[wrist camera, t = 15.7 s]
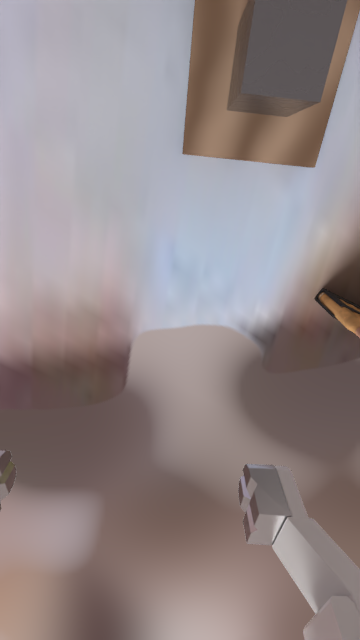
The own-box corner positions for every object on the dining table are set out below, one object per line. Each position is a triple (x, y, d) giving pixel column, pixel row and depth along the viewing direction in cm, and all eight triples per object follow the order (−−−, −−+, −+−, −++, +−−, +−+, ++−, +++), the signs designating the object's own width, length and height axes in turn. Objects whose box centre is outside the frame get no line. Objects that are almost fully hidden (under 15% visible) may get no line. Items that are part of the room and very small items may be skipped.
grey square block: (226, 110, 27) (240, 93, 21) (238, 25, 24) (259, -27, 18) (287, 117, 27) (320, 102, 21) (305, 33, 24) (351, -16, 18)
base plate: (182, 153, 30) (182, 153, 29) (198, -40, 23) (199, -52, 22) (309, 167, 31) (314, 167, 29) (360, -18, 24) (370, -29, 23)
